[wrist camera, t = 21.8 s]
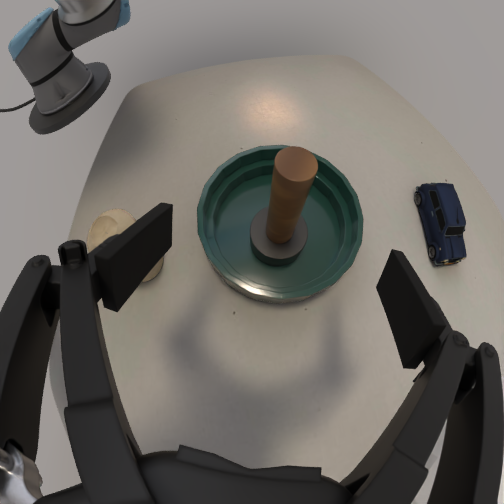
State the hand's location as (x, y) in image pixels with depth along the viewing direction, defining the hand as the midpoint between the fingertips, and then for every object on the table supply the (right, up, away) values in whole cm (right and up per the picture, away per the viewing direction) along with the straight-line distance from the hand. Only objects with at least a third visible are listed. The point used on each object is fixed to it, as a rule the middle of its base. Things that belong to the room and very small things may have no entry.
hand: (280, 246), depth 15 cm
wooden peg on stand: (+1, +1, +16) cm, 16 cm away
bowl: (+2, +2, +17) cm, 17 cm away
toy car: (+25, +3, +17) cm, 30 cm away
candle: (-15, -1, +16) cm, 22 cm away
